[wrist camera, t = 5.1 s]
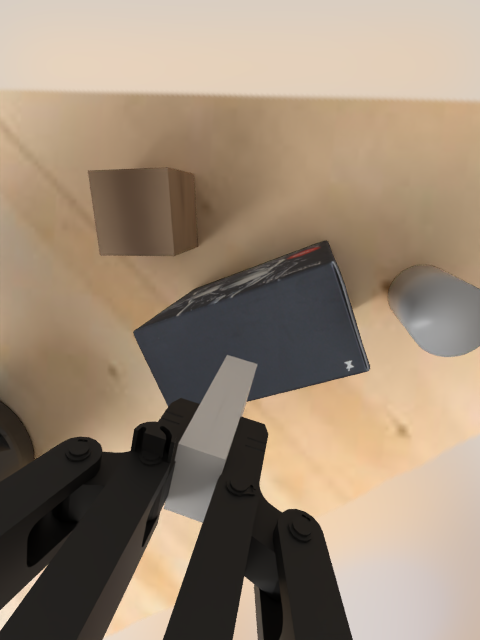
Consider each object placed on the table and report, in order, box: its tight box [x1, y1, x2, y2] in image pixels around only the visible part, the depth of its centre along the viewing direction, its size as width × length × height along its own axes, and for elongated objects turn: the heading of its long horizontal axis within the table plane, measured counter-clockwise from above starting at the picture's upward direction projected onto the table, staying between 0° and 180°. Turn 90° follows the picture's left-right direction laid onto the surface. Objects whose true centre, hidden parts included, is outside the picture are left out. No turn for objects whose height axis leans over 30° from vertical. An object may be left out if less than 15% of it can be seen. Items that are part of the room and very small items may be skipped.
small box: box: [133, 241, 370, 407], centre depth 26 cm, size 13×7×12 cm, turn 112°
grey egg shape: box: [388, 265, 480, 357], centre depth 26 cm, size 5×5×7 cm
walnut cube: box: [88, 168, 198, 256], centre depth 28 cm, size 6×6×6 cm
